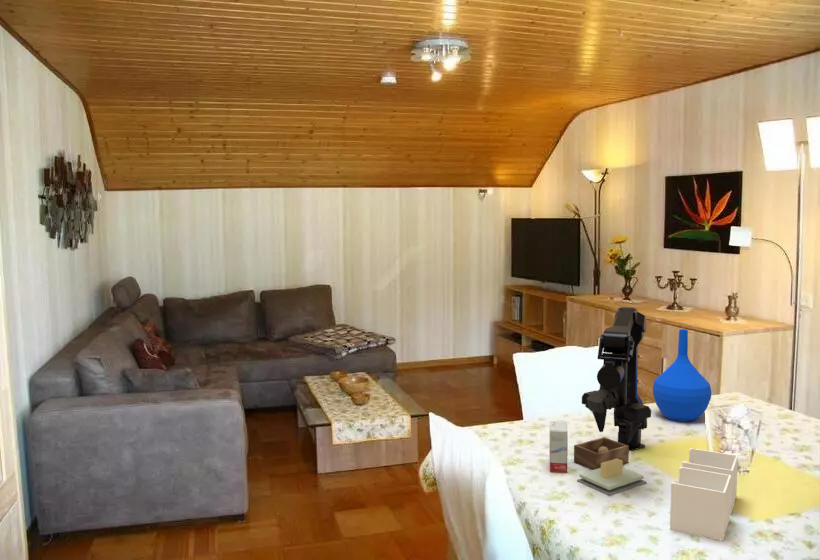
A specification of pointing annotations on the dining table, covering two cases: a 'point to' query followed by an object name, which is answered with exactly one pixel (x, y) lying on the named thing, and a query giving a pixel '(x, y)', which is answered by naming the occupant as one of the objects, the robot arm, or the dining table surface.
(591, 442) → the box
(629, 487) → the mat
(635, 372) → the robot arm
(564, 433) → the ink box
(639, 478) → the lid
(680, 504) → the storage container
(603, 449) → the cork ball
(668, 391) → the vase
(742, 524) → the dining table surface
